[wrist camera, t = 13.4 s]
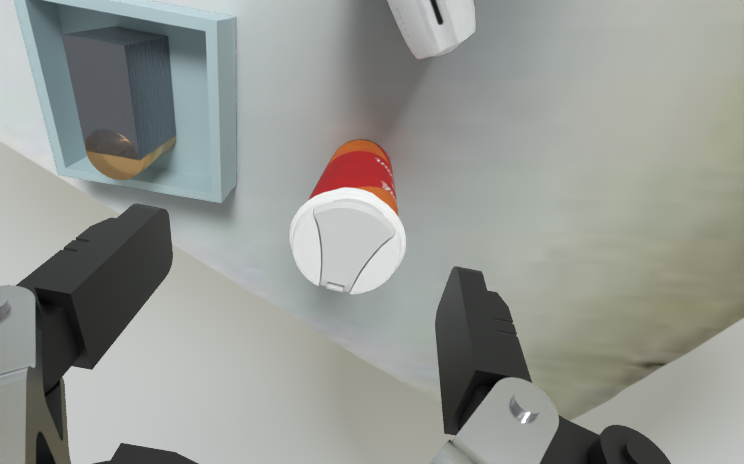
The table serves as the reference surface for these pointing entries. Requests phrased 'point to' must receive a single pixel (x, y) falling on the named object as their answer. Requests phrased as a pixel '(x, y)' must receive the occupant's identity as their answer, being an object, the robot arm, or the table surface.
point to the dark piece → (122, 97)
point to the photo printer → (434, 24)
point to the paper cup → (350, 223)
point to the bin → (189, 82)
